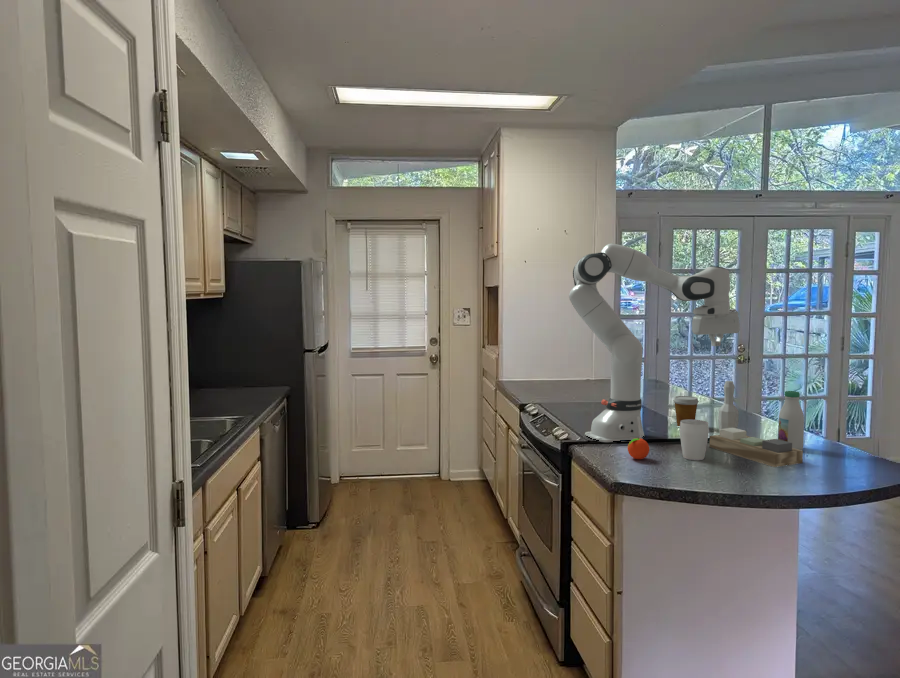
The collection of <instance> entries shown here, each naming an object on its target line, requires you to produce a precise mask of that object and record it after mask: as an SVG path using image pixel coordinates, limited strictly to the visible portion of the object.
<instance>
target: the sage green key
mask: <svg viewBox="0 0 900 678" xmlns="http://www.w3.org/2000/svg"><path fill="white" fill-rule="evenodd" d="M763 440H764V439H763V438H758V437H756V436H750V437H749V438H741V439H740V442H741V443H745V444H748V445H752V446H761V445H762V441H763Z"/></svg>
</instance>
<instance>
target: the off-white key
mask: <svg viewBox="0 0 900 678" xmlns="http://www.w3.org/2000/svg"><path fill="white" fill-rule="evenodd" d="M747 433H748V432H747V430H745V429H744V430H743V429H740V428H737V429H736V428H725V429H720V430H719V435H720V437H723V438H727V439H731V440H739V439H741V438H746V436H747Z"/></svg>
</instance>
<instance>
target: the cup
mask: <svg viewBox="0 0 900 678" xmlns="http://www.w3.org/2000/svg"><path fill="white" fill-rule="evenodd" d="M709 427H710V426H709V422H708V421H706V420H702V419H695V420H693V419H686V420H681V421H680V428H679V439H680V444H681V453H682V457H683V459H686V460H689V461H703V460H704V459H705V455H706V450H707V446H708V445H707V444H708V439H709V434H710V433H709V432H710V430H709Z"/></svg>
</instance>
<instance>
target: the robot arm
mask: <svg viewBox="0 0 900 678" xmlns="http://www.w3.org/2000/svg"><path fill="white" fill-rule="evenodd" d="M608 273H613V274H616V275H619V276H621V277H623V278H626V279H629V280H634V281H637V282H638V281H639V282H646V283H651V284H653V285H655V286H658V287H660V288H663V289H665V290H667V291H669V292H670V293H671V294H672V295H673V296H674V297H676V299H678V300H679V301H682V302H697V301H700V300H704V302H703V303H704V304H702V305H700V306H698V307H696V308H693V311H692V313H693V317H692V323H691V332H692V333H693V335H698V336H699V335H701V336H703V335H708V338H709V340H710V341H711V342H710V343H711V344H710V346H711V347H720V346H721V345H722V344H721V343H722V340H723V339H724V335H726V334H727V335H729V334H738V333H739V332H740V330H741V324H740V317H739V313H738V311H737V310H736V309H735V308H731V309H730V305H731V303H730V302H731V300H730V291H731V277H730V272H729V270H728V269H727V268H725V267H722V266H717V265H716V266H715V265H709V266H707V267H706V268H704V269H703V270H700V271H699V272H697V273H694V274H692V275H676V274H673V273H671V272H668V271H666V270H664V269H662V268H659V267H658V266H656V265H655V264H654V263H653V260H652V258H651V257H650V256H648V255H647V254H645V253H643V252H641V251H639V250H637V249H634V248H632V247H629V246H625V245H623V244H617V243H607V244H606V245H605V246H603V248H602V249H601V250H600V252H595V253H589V254H586V255H584V256H583V257H581V258H580V259H578V261H577V262H576V263H575V265H574V267H573V270H572V278H573V282H574V286H573V287H572V288H571V289H570V291H569V294H568V298H569V301H570V303H571V306H573V308H574V310H575V311H576V313H577V314H578V316H579V317H580V318H581V319H582V321H583V322H584V323H585V324H586V325H587V326H588V328H589V329H590V331H592V332H593V334H594V335H595V336H596V337H597V338H598V339H599V340H600V341H601V343H602V344H603V345H604V346H605V348H606V349H607V350H608V351H609V352H610V354H611V362H610V397H609V399H608V400H607V399H604V398H603V399H602V400H601V402H600V403H601V405H603V406H606V408H605V409H604V410H602V411H601V413H599V414H598V415H597V416H596V417H595V418H593V420H592V422H591V426H590V427H591V428H590V431H585V433H584V436H585V435H586V436H588V437H590V438H592V439H591V440H593V439H596V440H599V441H598V442H601V443H614V442H613V441H620V440H633V439H635V438H641V439H643V438H644V437H645V432H644V428H643V422H642V412H641V411H642V406H643V404H642V398H641V388H642V387H641V385H642V384H641V383H642V381H641V380H642V369H643V345H642V343H641V341H640V340H639V339H638V338H637V337H636V335H635V334H634V333H633V332H632V331H631V330H630V328H629V327H628V326H627V325H626V324H625V322H624V321H623V320H622V319H621V318H620V316H619V315H618V314H617V313H616V312H615V310H614V309H613V308H612V307H611V305H610V304H609V303H608V302H607V300H605V298H604V297H603V296H602V295H601V294H600V292H599V290H598V287H597V284H598V283H600V281H601V280H602V279H604V278H605V276H606V275H607V274H608ZM586 436H585V437H586ZM643 436H644V437H643ZM588 437H587V438H588ZM642 437H643V438H642ZM590 438H589V439H590ZM596 440H595V441H596Z"/></svg>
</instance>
